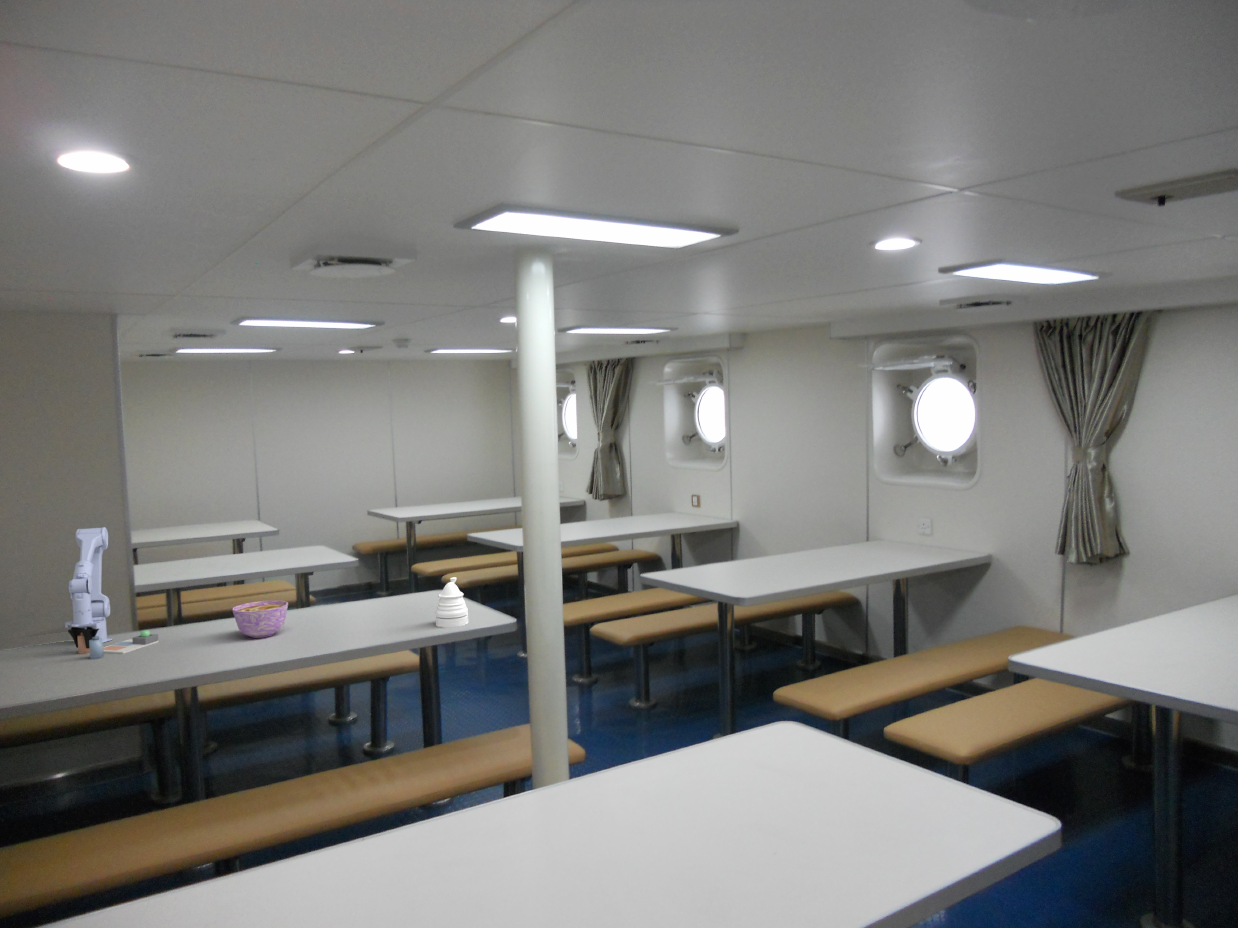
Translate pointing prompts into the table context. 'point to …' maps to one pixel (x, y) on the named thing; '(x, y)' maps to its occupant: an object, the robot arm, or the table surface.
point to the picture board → (131, 644)
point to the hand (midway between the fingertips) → (84, 647)
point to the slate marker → (96, 648)
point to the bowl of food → (260, 617)
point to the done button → (145, 633)
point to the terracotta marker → (82, 645)
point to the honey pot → (451, 607)
